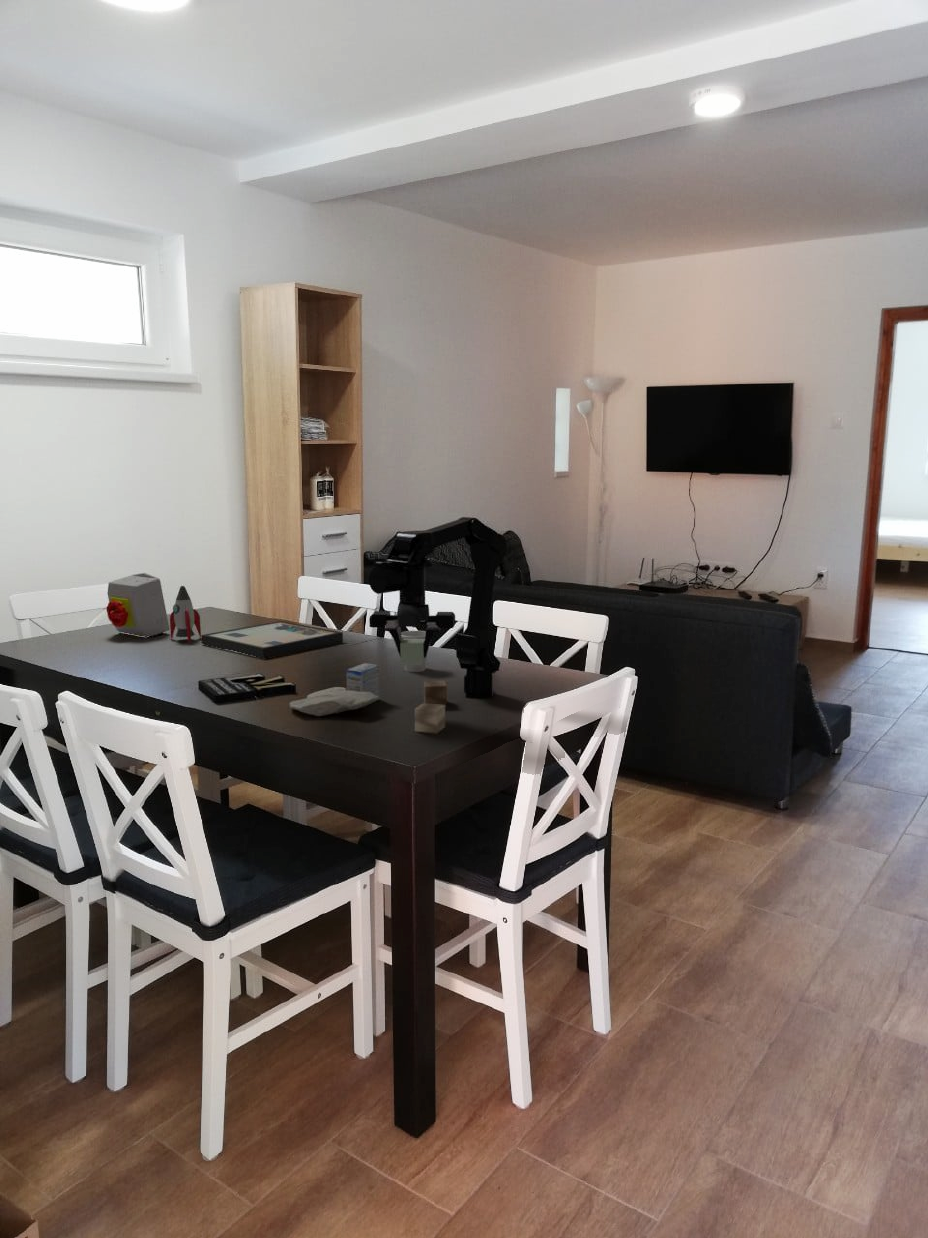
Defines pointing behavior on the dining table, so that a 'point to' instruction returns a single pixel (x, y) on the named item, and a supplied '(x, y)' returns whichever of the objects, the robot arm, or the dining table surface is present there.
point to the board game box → (273, 639)
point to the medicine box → (364, 679)
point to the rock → (333, 701)
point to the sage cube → (412, 652)
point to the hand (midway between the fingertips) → (413, 657)
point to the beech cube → (429, 718)
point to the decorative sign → (244, 688)
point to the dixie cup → (414, 636)
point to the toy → (184, 616)
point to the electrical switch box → (137, 605)
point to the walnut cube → (435, 692)
